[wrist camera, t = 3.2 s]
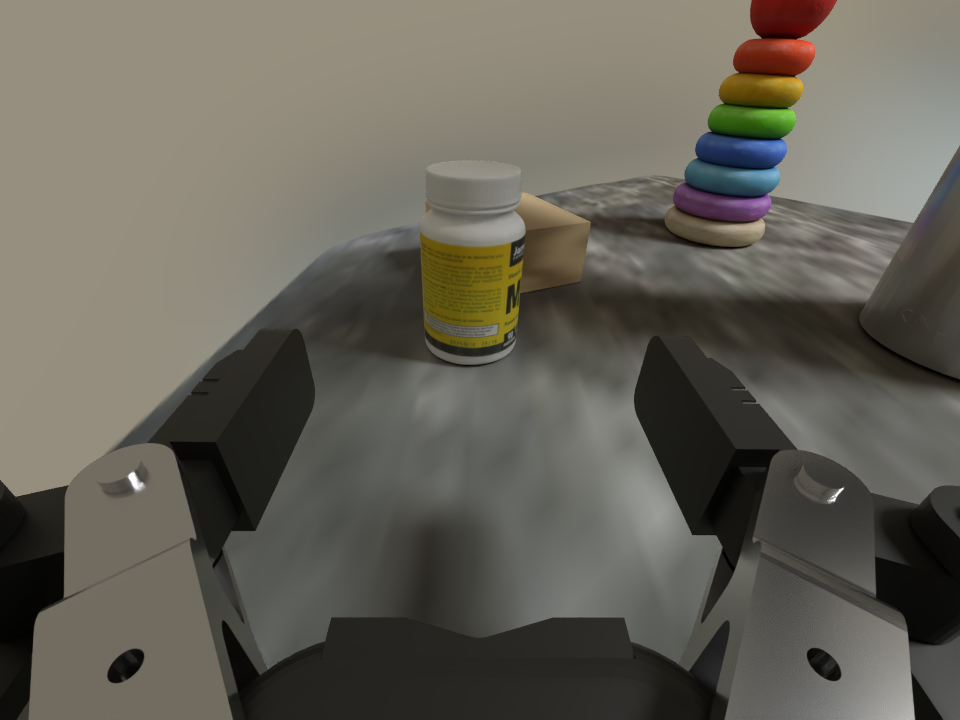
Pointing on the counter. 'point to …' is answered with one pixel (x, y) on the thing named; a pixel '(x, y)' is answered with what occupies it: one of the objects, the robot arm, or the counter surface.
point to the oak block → (550, 244)
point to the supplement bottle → (472, 260)
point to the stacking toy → (748, 129)
